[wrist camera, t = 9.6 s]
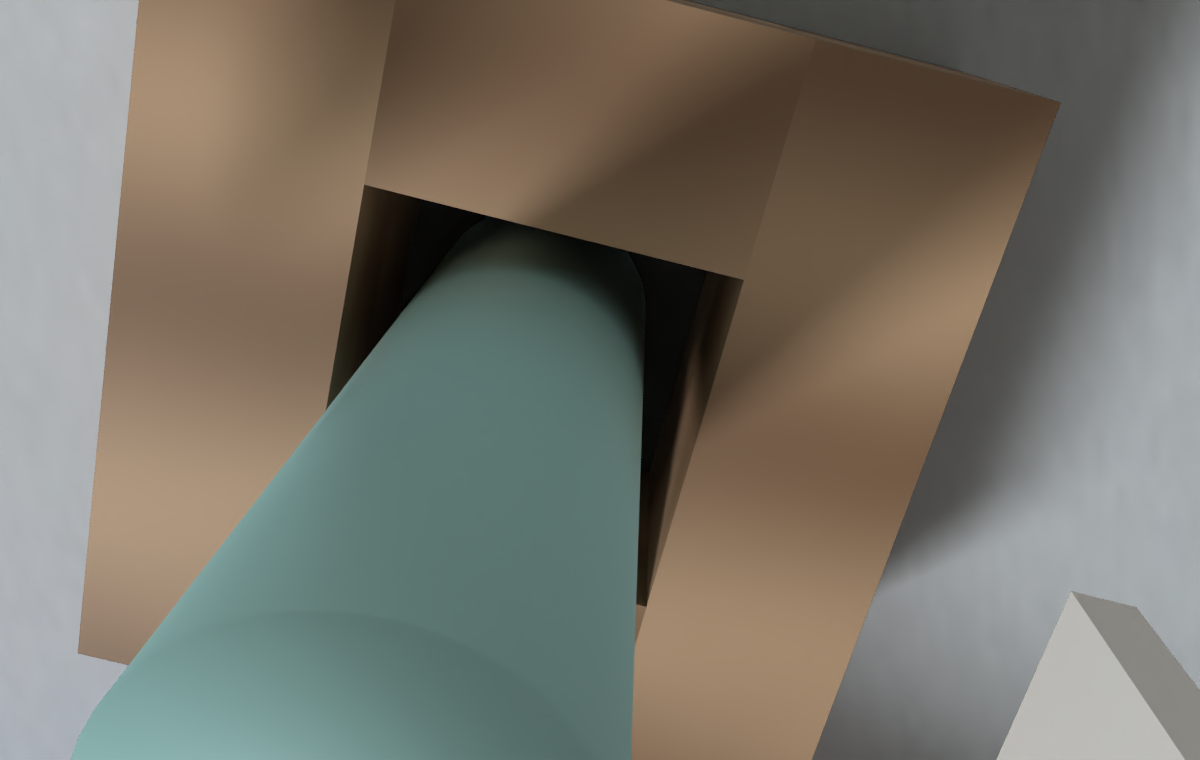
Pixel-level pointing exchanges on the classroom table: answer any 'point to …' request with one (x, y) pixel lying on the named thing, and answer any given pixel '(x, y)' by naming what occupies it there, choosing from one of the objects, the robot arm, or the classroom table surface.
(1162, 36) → the classroom table surface
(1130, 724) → the robot arm
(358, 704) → the peg
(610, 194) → the socket
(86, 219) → the classroom table surface
